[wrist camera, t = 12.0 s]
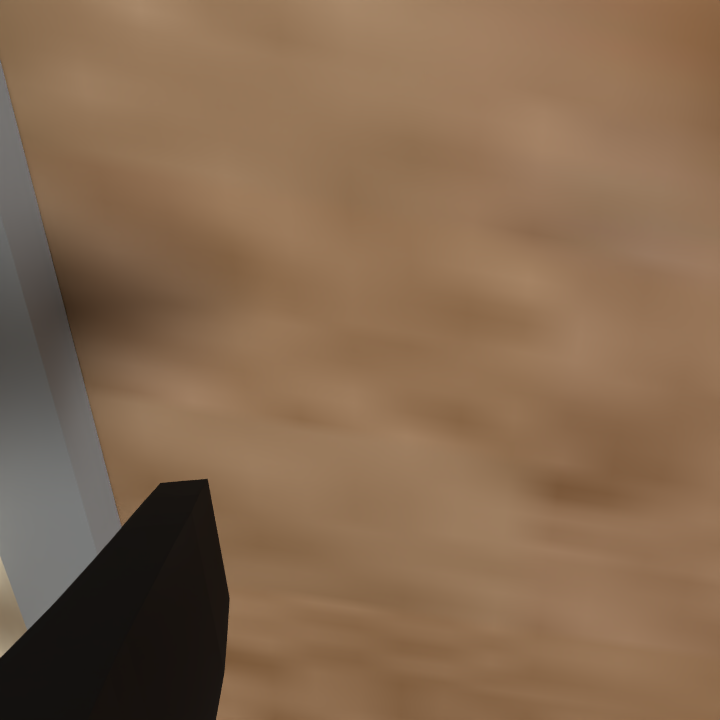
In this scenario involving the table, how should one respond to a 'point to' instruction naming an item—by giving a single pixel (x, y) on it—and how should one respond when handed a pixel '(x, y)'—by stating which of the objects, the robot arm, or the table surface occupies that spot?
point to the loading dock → (41, 408)
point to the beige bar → (9, 614)
